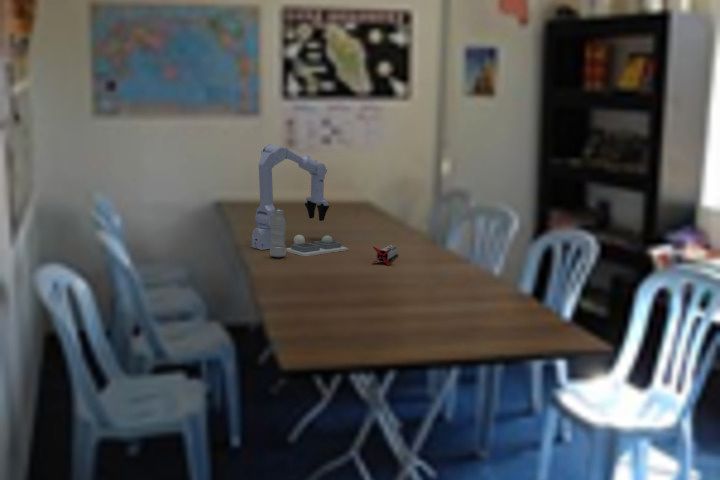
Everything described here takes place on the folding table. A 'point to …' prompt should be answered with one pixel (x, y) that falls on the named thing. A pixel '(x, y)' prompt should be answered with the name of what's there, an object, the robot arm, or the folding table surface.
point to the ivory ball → (299, 239)
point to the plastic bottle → (278, 234)
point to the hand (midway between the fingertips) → (316, 219)
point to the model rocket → (386, 253)
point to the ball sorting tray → (315, 248)
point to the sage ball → (327, 240)
